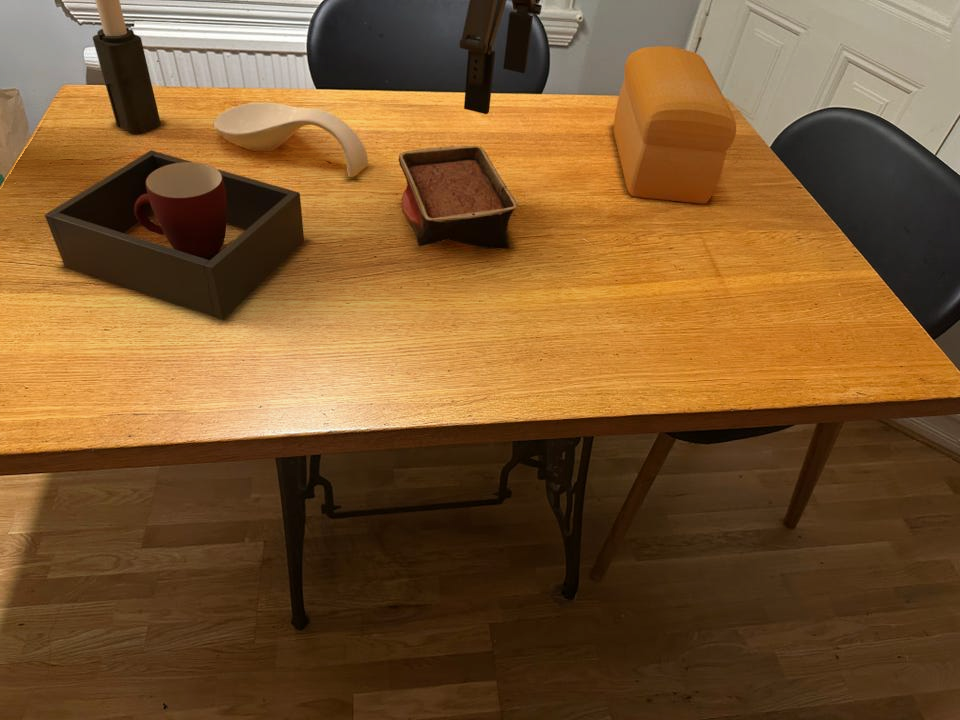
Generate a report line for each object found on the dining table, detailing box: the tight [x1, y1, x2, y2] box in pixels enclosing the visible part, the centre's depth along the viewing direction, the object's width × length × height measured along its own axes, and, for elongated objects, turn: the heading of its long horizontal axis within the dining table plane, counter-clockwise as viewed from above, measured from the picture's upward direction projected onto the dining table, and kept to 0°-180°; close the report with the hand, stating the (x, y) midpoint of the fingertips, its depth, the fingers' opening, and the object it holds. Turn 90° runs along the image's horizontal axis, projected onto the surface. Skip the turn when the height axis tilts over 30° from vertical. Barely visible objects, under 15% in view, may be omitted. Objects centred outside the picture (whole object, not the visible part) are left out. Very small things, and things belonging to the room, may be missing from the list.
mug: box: [134, 161, 227, 261], centre depth 80 cm, size 10×8×10 cm
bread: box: [613, 45, 737, 204], centre depth 107 cm, size 24×13×15 cm, turn 178°
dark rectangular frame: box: [44, 149, 305, 321], centre depth 81 cm, size 21×17×7 cm
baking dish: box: [397, 145, 519, 249], centre depth 91 cm, size 14×18×10 cm
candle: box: [92, 0, 162, 135], centre depth 97 cm, size 5×5×25 cm
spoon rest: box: [213, 101, 369, 178], centre depth 101 cm, size 24×12×7 cm, turn 67°
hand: (496, 89), depth 82 cm, fingers open, 13 cm apart
